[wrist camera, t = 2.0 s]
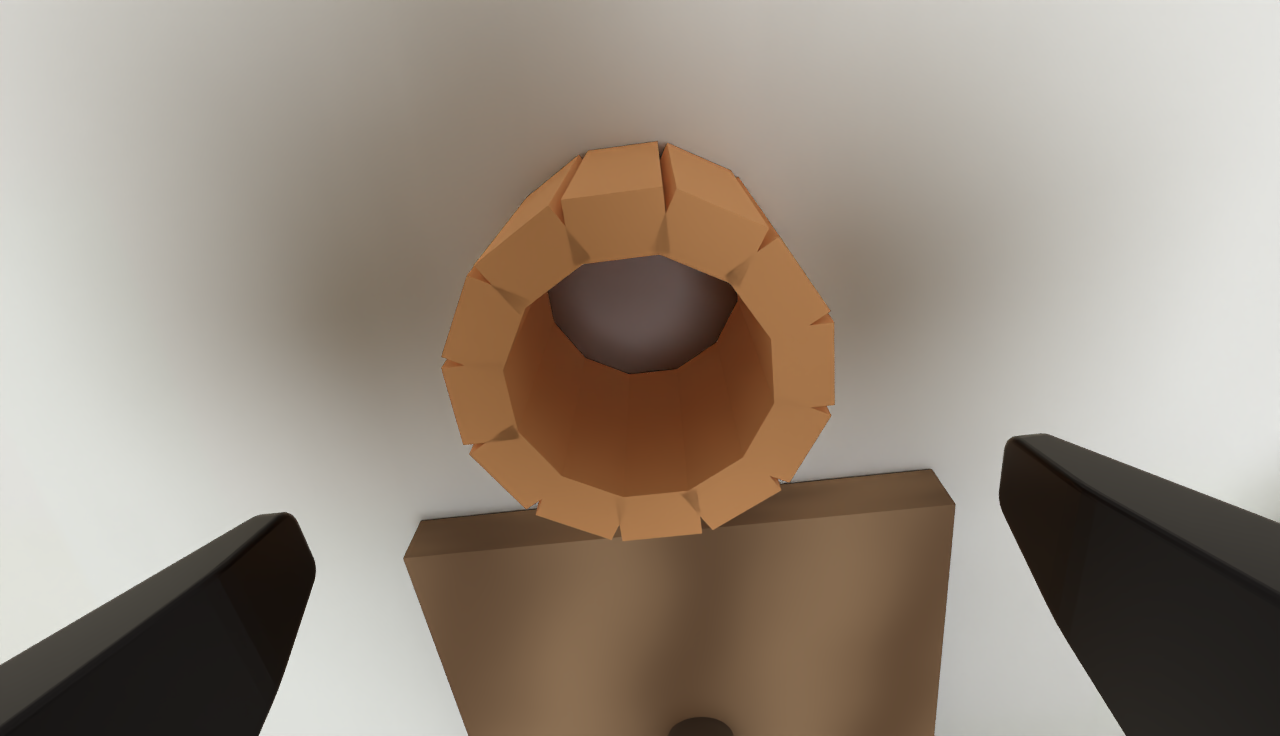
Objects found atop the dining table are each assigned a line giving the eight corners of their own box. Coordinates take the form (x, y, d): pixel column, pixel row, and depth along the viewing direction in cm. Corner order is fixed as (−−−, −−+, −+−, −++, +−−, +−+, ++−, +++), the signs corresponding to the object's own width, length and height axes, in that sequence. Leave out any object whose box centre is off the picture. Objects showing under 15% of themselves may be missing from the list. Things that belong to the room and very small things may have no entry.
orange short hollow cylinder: (773, 125, 14) (833, 164, 10) (784, 393, 17) (835, 520, 12) (476, 165, 14) (398, 220, 10) (534, 420, 17) (495, 553, 13)
